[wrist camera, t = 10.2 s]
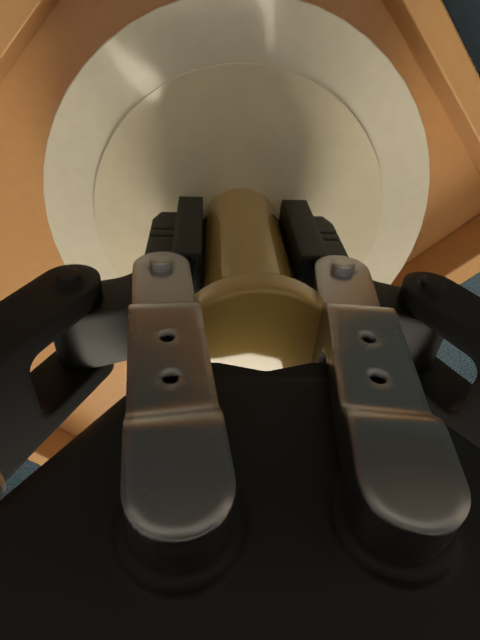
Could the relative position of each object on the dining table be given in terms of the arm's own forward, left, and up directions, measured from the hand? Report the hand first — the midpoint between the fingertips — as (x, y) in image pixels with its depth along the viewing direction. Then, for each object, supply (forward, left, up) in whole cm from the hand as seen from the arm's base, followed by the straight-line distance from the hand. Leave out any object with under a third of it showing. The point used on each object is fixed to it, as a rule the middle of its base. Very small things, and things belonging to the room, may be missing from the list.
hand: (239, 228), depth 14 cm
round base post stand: (0, 0, -1) cm, 1 cm away
